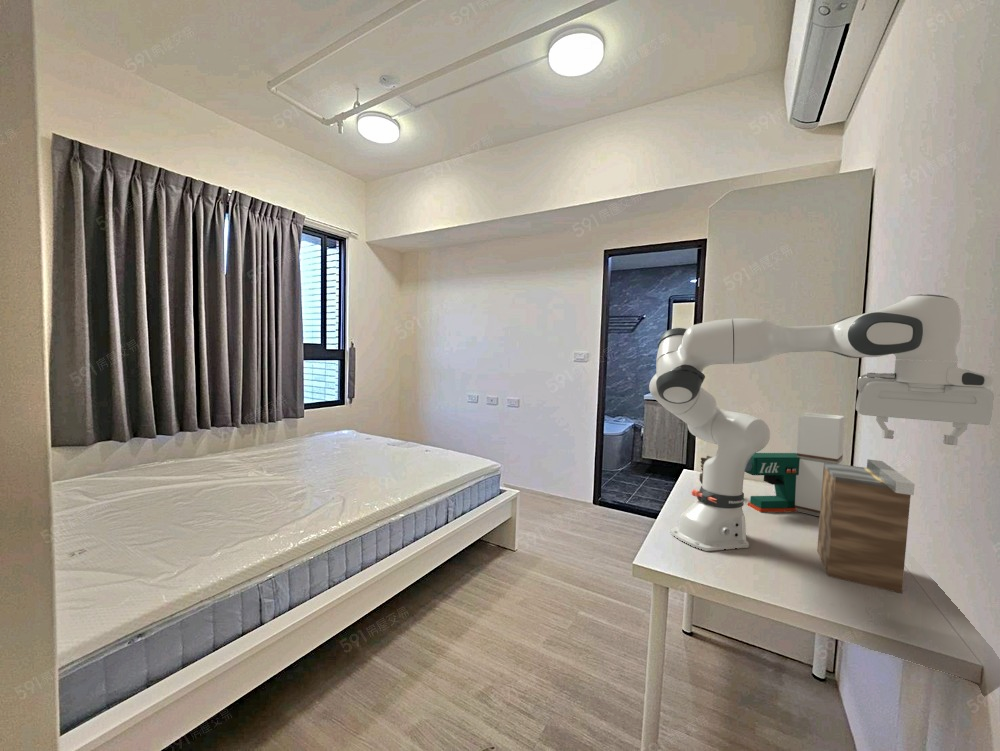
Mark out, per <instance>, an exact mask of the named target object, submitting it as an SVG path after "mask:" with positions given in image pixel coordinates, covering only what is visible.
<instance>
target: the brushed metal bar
mask: <svg viewBox="0 0 1000 751" xmlns="http://www.w3.org/2000/svg"><path fill="white" fill-rule="evenodd" d="M866 468H867V469H868V470H869V471H870V472H872V473H873V474H874V475H875V476H876V477H878V478H879V479H880V480H881V481H882V482H883V483H885V484H886V485H887V486H888V487H889V488H890V489H892V490H893V491H894V492H895V493H901V494H908V495H911V496H914V495H915V494H914V493H915V485H916V484H915V483H913V482H912V481H911V480H910V479H908V478H907V477H905V476H904V475H902V474H901V473H900V472H898V471H897V470H895V469H894V467H893V468H892V467H891V466H890V465H888V464H887V463H886V462H884V461H883V460H876V459H867V462H866Z"/></svg>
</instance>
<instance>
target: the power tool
mask: <svg viewBox="0 0 1000 751" xmlns="http://www.w3.org/2000/svg"><path fill="white" fill-rule="evenodd" d="M799 462H800V457H797V452H756V453H755V454H754V455H753V456H752V457H751V458H750V460H749V461H748V463H747V465H746V468H745V472H744V473H747V474H749V475H752V476H763V482H765V483H768V484H770V485H772V486H773V485H775V491H776V493H775V495H751V496H750V500H749V502H747V506H749V507H750V508H751V509H754V510H756V511H758V512H759V513H784V512H785V511H796V509H795V491H796V475H799ZM785 513H786V512H785Z"/></svg>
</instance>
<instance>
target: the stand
mask: <svg viewBox="0 0 1000 751" xmlns="http://www.w3.org/2000/svg"><path fill="white" fill-rule="evenodd" d="M911 498H912V495H908V494H901V493H895V492H894V491H893V490H892V489H890V488H889V487H888V486H887V485H886V484H885V483H883V482H882V481H881V480H880V479H879V478H878V477H876V476H875V475H874V474H873V473H872V472H870V471H869V470H868V469H867V467H865V466H864V467H863V466H856V465H855V466H854V465H846V464H842V465H840V464H832V463H824V468H823V481H822V494H821V507H820V516H819V520H818V521H819V524H818V534H817V549H816V550H817V553H818V556H819V558H820V560H821V563H822V566H823V567H824V570H825V573H826V575H827V576H828V577H830V578H833V579H834V578H835V579H838V580H844V581H848V582H851V583H856V584H861V585H865V586H867V587H868V586H869V587H873V588H878V589H881V590H886V591H890V592H895V593H898V594H902V593H903V585H904V575H905V574H904V572H905V564H906V562H905V561H906V553H907V552H906V550H907V539H908V530H909V529H908V528H909V516H910V507H911V505H910V504H911Z"/></svg>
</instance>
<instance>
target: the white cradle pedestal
mask: <svg viewBox="0 0 1000 751" xmlns="http://www.w3.org/2000/svg"><path fill="white" fill-rule="evenodd" d="M797 422H798V426H797V446H796V448H797V449H796V450H797V452H796V453H797V457H800V462H799V475H796V491H795V509H796V511H798V513H804V514H807V515H811V516H816V517H820V507H821V494H822V481H823V468H824V463H832V464H840V465H843V459H844V458H843V456H844V436H845V435H844V433H845V415H836V414H825V413H824V414H823V413H815V412H814V413H813V412H804V414H798V421H797Z"/></svg>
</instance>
